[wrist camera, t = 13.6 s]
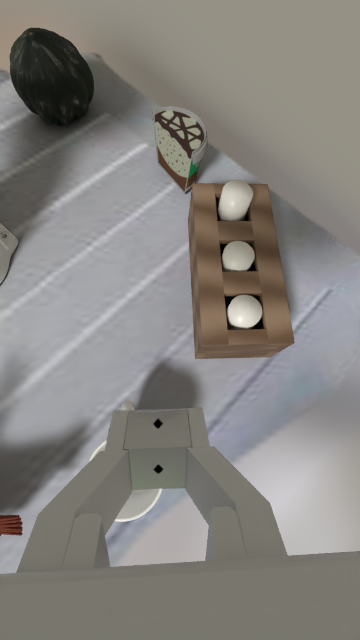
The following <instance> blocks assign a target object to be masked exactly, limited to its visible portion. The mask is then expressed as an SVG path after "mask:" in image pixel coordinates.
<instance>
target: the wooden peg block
mask: <svg viewBox="0 0 360 640" xmlns="http://www.w3.org/2000/svg"><path fill="white" fill-rule="evenodd" d="M224 185H225V184H204V183H192V192H191V200H190V209H189V218H188V229H189V249H190V268H191V287H192V306H193V326H194V345H195V359H208V358H251V357H271V356H273V355H275V354H276V353H278V352H280V351H281V350H283V349H285V348H287V347H288V346H290V345H292V344H293V343H295V342H294V336H293V331H292V325H291V319H290V313H289V307H288V301H287V295H286V290H285V284H284V278H283V272H282V266H281V260H280V254H279V249H278V243H277V237H276V231H275V225H274V219H273V213H272V208H271V202H270V196H269V190H268V185H267V184H248V185H249V186H250V187H251V188H252V191H253V197H252V200H251V202H250V205H249V207H248V210H247V212H246V215H245V217H244V220H243V221H218V219H217V210H218V206H219V202H220V198H221V194H222V190H223V187H224ZM233 241H242V242H245V243H247V244H248V245H250V246H251V247H252V249H253V251H254V255H255V257H254V260H253V262H252V264H251V272H222V265H221V254H220V244H229V243H231V242H233ZM239 295H249V296H255V299H256V300H257V301H258V302H259V303H260V305H261V307H262V316H261V318H260V320H259V321H258V324H259V329H250V330H228V329H227V319H226V308H225V297H224V296H239Z"/></svg>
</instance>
